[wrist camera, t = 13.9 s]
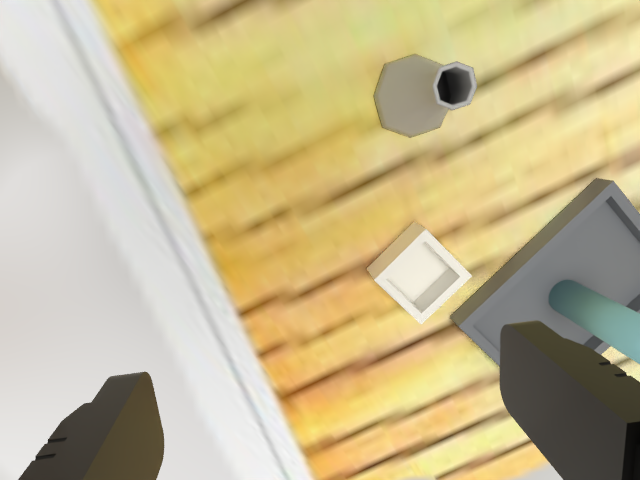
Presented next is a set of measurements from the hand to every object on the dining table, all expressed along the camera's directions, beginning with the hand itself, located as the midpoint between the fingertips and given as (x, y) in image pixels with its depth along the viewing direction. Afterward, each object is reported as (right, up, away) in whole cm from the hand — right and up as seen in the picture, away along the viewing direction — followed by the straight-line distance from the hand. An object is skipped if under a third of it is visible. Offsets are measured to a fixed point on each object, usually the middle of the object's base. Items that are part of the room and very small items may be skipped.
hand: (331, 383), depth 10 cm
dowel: (+25, -3, +35) cm, 44 cm away
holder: (+9, +1, +34) cm, 35 cm away
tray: (+25, -2, +36) cm, 44 cm away
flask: (+8, +16, +30) cm, 35 cm away
